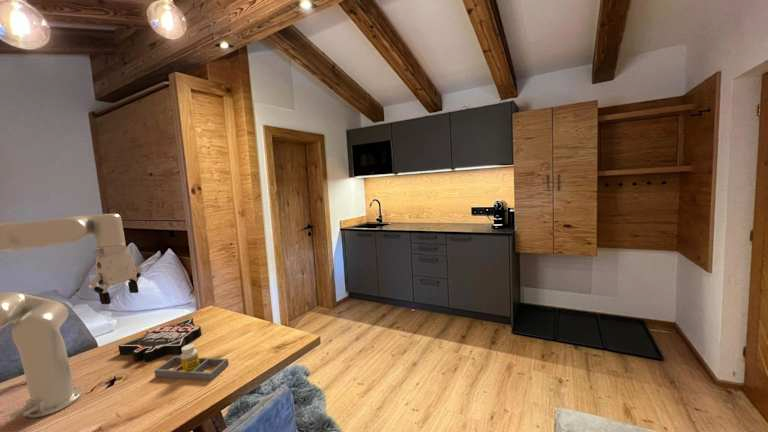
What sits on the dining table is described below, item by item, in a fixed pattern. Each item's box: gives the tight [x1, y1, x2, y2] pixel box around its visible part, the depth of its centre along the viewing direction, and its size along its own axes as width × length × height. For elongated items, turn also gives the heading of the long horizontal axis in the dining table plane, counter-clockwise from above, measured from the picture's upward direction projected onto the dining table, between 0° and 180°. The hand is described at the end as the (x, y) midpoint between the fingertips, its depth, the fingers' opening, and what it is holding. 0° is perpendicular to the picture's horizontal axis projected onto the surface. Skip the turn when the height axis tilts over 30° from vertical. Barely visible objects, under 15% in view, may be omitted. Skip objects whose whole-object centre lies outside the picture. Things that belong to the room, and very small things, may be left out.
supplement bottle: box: [180, 343, 200, 371], centre depth 113 cm, size 5×5×10 cm
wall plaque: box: [118, 317, 203, 363], centre depth 137 cm, size 28×4×30 cm
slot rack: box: [153, 355, 230, 382], centre depth 114 cm, size 9×23×3 cm, turn 80°
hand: (120, 298), depth 108 cm, fingers open, 9 cm apart
